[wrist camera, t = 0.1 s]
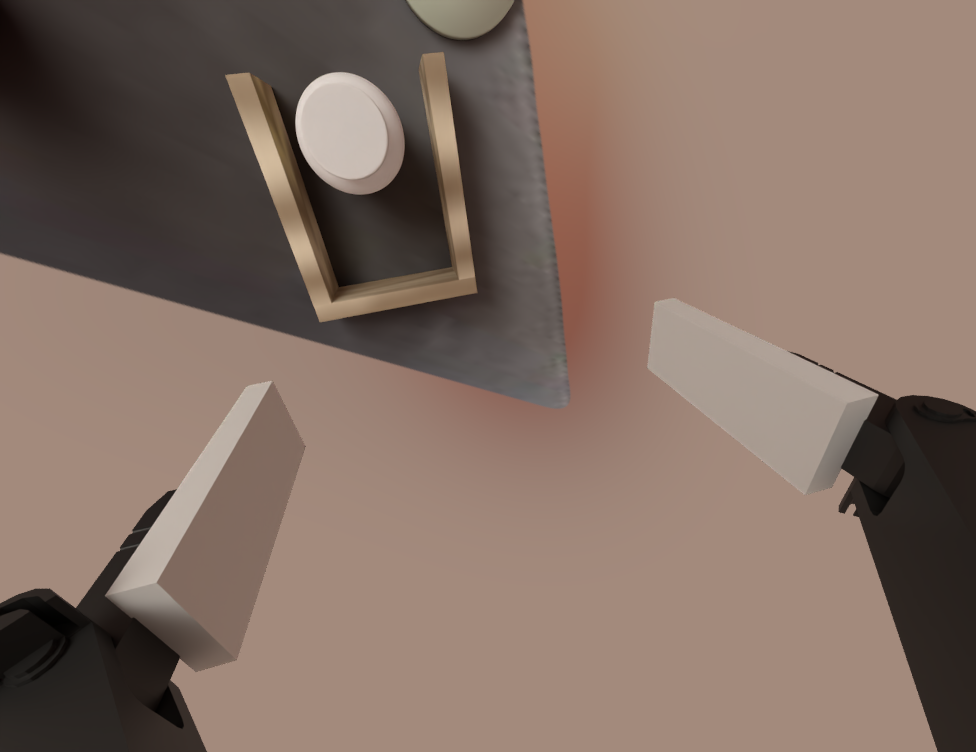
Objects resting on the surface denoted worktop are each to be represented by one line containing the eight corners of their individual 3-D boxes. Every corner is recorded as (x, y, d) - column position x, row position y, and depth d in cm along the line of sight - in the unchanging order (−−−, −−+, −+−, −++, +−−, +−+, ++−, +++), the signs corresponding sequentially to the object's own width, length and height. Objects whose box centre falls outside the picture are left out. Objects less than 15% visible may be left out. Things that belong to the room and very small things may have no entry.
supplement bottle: (414, 123, 32) (424, 102, 21) (389, 201, 34) (386, 218, 23) (333, 77, 29) (295, 26, 18) (312, 164, 32) (268, 165, 21)
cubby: (250, 88, 28) (225, 75, 24) (437, 67, 30) (443, 51, 26) (328, 304, 37) (319, 322, 33) (468, 278, 39) (477, 292, 35)
